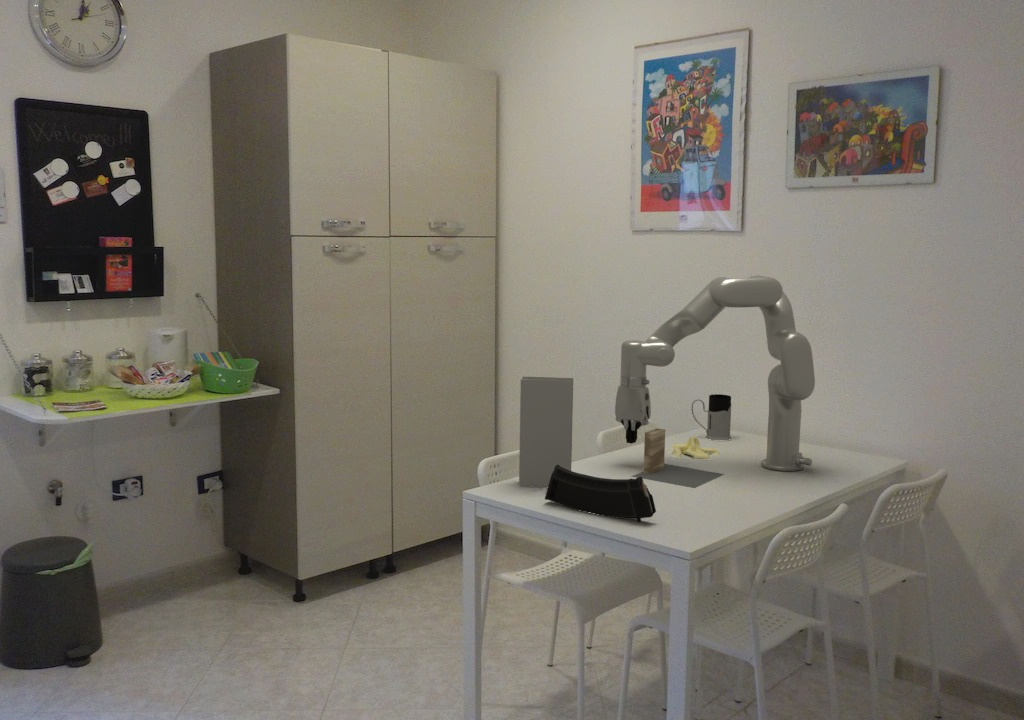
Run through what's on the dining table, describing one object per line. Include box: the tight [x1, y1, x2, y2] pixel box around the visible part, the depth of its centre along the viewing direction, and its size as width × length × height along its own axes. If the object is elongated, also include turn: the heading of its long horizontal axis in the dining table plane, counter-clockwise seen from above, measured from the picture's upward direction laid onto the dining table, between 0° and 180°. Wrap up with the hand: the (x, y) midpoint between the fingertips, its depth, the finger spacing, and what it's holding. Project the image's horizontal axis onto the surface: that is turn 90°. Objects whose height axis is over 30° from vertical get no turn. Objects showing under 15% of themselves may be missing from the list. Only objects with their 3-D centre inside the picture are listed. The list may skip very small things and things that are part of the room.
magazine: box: [544, 465, 657, 523], centre depth 235 cm, size 17×3×30 cm
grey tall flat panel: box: [518, 376, 574, 488], centre depth 260 cm, size 14×6×30 cm, turn 84°
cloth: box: [667, 436, 721, 460], centre depth 303 cm, size 22×19×6 cm
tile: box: [643, 428, 666, 474], centre depth 277 cm, size 3×8×12 cm, turn 143°
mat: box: [631, 463, 725, 489], centre depth 273 cm, size 20×20×1 cm
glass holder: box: [691, 393, 732, 441], centre depth 326 cm, size 9×14×15 cm, turn 92°
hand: (631, 442), depth 281 cm, fingers closed
